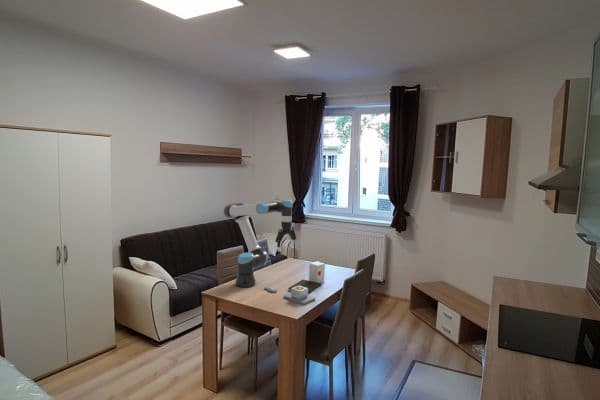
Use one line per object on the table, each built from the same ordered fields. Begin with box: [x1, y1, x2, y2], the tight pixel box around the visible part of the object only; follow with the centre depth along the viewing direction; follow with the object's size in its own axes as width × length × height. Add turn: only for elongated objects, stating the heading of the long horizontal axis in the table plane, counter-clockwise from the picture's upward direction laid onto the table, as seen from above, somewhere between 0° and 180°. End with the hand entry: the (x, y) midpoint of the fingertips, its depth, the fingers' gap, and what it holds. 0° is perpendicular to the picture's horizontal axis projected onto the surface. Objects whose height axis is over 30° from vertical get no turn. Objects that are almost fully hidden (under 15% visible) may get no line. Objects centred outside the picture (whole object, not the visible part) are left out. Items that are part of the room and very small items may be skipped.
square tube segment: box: [290, 286, 309, 300], centre depth 232 cm, size 8×8×6 cm
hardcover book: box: [287, 279, 322, 295], centre depth 255 cm, size 16×23×2 cm
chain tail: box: [263, 286, 278, 294], centre depth 246 cm, size 12×4×1 cm, turn 49°
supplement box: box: [308, 260, 326, 284], centre depth 268 cm, size 9×9×15 cm
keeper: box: [283, 287, 316, 306], centre depth 232 cm, size 18×12×8 cm, turn 49°
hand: (285, 249), depth 251 cm, fingers open, 13 cm apart
